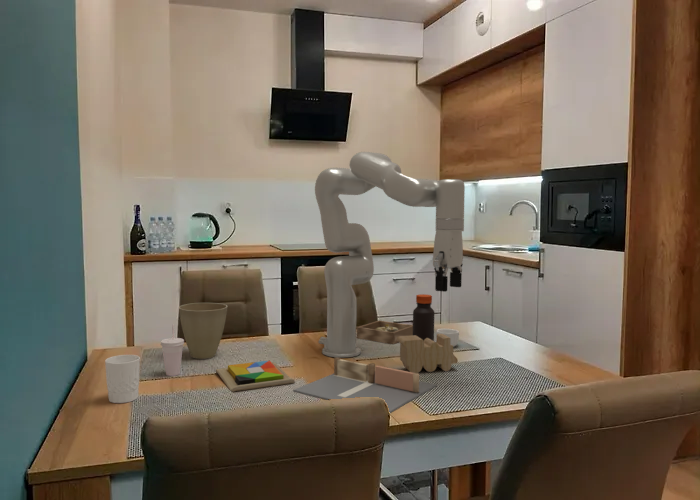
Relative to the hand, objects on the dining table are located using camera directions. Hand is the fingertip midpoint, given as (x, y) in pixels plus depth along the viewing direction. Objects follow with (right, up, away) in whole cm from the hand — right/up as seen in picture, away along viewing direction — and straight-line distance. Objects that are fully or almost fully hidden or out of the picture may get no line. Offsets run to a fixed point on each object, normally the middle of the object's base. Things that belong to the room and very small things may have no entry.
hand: (448, 288), depth 150 cm
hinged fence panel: (-14, -25, -5) cm, 30 cm away
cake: (-13, -22, +54) cm, 59 cm away
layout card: (-22, -26, -4) cm, 35 cm away
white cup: (-82, -26, -14) cm, 88 cm away
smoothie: (-77, -25, +7) cm, 81 cm away
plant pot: (-73, -23, +26) cm, 81 cm away
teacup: (+7, -23, +43) cm, 49 cm away
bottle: (-3, -24, +26) cm, 36 cm away
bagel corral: (-13, -22, +54) cm, 60 cm away
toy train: (-4, -25, +13) cm, 29 cm away
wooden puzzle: (-53, -26, +4) cm, 59 cm away
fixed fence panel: (-26, -25, +3) cm, 36 cm away
